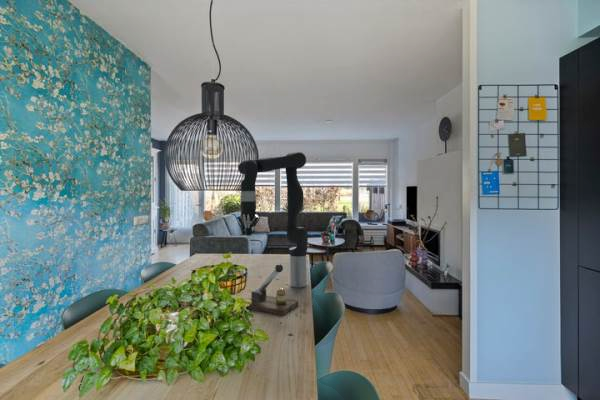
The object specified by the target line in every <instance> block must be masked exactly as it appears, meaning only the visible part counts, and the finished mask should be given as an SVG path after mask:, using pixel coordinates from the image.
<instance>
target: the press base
mask: <svg viewBox="0 0 600 400" xmlns="http://www.w3.org/2000/svg"><path fill="white" fill-rule="evenodd" d="M255 291H256V290H253V291H251V297H250V298H249V299H247V300H251V301H252V303H251V304H250V305H249V306H247V308H246V309H248V310H252V311H253V310H254V311H258V312H259V311H260V312H263V313H269V314H274V315H280V316H285V315H286V314H288V313H289V312H290V311H292V310H293V309H295V308H297V307H298V306H299V300H296V299H290V298H286V305H277V304H276V296H272V295H267V288H266V289H265V290H264V291H263V294H262V295H260V292H255Z"/></svg>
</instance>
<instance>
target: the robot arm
mask: <svg viewBox="0 0 600 400" xmlns="http://www.w3.org/2000/svg"><path fill="white" fill-rule="evenodd" d="M306 163H307V157H306V155H305V153H304V152H301V151H294V152H290V153H287V154H286V155H283V156H282V155H281V156H275V157H274V156H273V157H272V156H271V157H265V158H259V159H248V160H243V161H241V162H239V164H238V168H237V169H238V171H239V173H240V174H241V175H244V179H242V180H241V182H240V210H241V211H240V212H241V213H240V215H239V216H237V217H236V219H237V220H238V222H239V224H240V225H241V227H244V228H245V235H246V236H249V237H250V236H252V234H253V228H254V227H256V226H257V224H258V222H259V221H260V220H261V217H260V216H258V215H257V212H256V210H257V195H256V194H257V193H256V182H257V181H256V180H257V178H258V173H267V172H272V171H276V170H281V169H285V175H286V191H287V192H286V193H287V194H286V197H287V199H286V200H287V201H286V202H287V222H286V223H287V224H286V226H287V227H286V238H287V240H288V242H289V243H291V244H296V247H295V248H292V249H290V250H289V255H290V256H289V268H290V269H289V270H290V271H289V272H290V273H289V274H290V275H289V279H290V280H289V281H290V282H289V283H290V284H289V285H290V287H292V288H297V289H298V288H305V287H307V285H308V282H307V281H308V277H307V276H308V274H307V272H308V271H307V269H308V268H307V251H308V243H309V241H308V239H309V234H308V233H309V232H308V230H307V228H306V227H304V226H298V217H299V214H300V212H301V211H302V208H303V207H304V199H305V198H304V190H303V187H302V185H301V183H300V181H299V178H298V169H300V168H303V167H304V166H305V165H306Z"/></svg>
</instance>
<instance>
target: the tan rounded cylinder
mask: <svg viewBox="0 0 600 400" xmlns="http://www.w3.org/2000/svg"><path fill="white" fill-rule="evenodd" d="M275 297H276V304H277V305H286V299H287V293H286V289H284V288H283V287H279V288H278V289H277V290H276V296H275Z"/></svg>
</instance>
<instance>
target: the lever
mask: <svg viewBox="0 0 600 400" xmlns="http://www.w3.org/2000/svg"><path fill="white" fill-rule="evenodd" d="M283 270H284V267H283V265H282V264H280V263H278V264H276V265H275V267H274V270H273V271H272V272H271V273H270V274H269V276H268V277H267V278H266V279H265V280H264V282H263V283H262V284H261V286H260V287H258V289H256V290H254V291H255V292H260V295H262V294H263V291H264V290H265V289H266V290H267V288H268V286H269V285H270V284H271V283H272V282H273V280H275V278H276V277H277V276H278V274H279V273H282V272H283Z"/></svg>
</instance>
